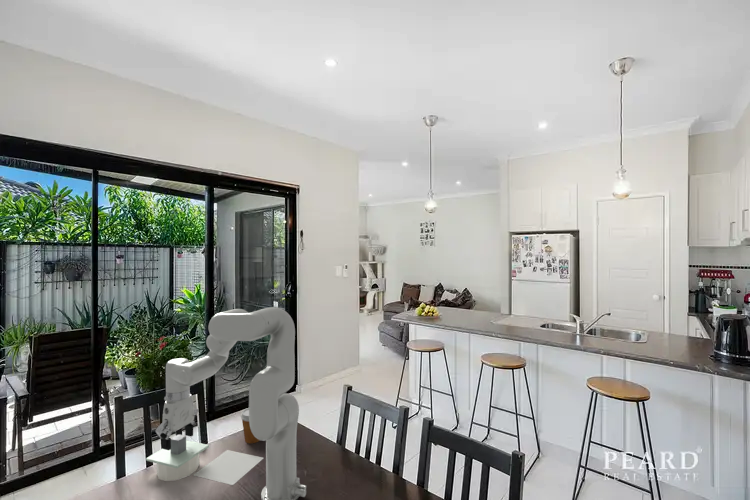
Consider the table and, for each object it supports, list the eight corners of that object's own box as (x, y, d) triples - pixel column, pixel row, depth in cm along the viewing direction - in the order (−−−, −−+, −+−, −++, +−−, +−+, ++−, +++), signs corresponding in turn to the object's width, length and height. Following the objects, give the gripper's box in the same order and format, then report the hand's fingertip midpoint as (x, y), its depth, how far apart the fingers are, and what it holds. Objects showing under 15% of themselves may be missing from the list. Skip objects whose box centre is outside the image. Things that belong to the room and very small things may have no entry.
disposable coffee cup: (235, 444, 150) (235, 414, 150) (250, 433, 159) (250, 405, 159) (255, 448, 147) (255, 418, 147) (269, 436, 156) (269, 408, 156)
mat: (263, 458, 140) (263, 457, 140) (232, 486, 124) (232, 485, 124) (227, 450, 145) (227, 449, 145) (192, 476, 129) (192, 475, 129)
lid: (208, 447, 137) (208, 431, 137) (177, 468, 124) (176, 451, 124) (179, 440, 142) (179, 425, 142) (146, 460, 128) (145, 443, 128)
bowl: (206, 463, 137) (206, 447, 137) (177, 485, 124) (177, 467, 124) (179, 457, 141) (179, 441, 141) (148, 477, 129) (148, 460, 129)
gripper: (165, 405, 123) (165, 457, 123) (204, 387, 139) (205, 432, 140) (148, 402, 126) (148, 453, 126) (189, 384, 142) (189, 429, 142)
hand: (178, 442), depth 133 cm, fingers open, 9 cm apart
